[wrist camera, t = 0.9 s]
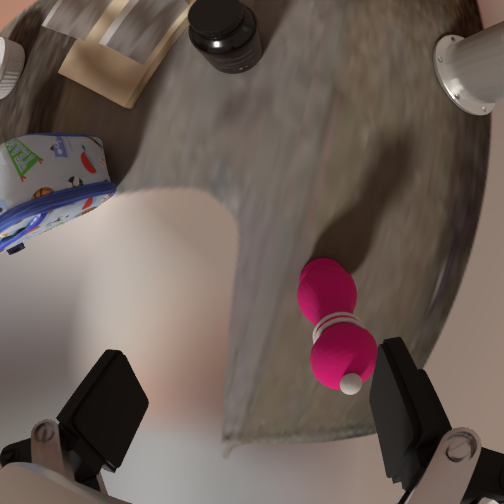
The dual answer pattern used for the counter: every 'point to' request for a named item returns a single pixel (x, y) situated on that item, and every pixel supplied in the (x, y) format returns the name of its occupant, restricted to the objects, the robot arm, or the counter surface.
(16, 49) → the ramekin
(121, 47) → the wooden stand
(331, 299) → the pepper mill
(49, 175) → the lunch box
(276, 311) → the counter surface
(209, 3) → the supplement bottle
